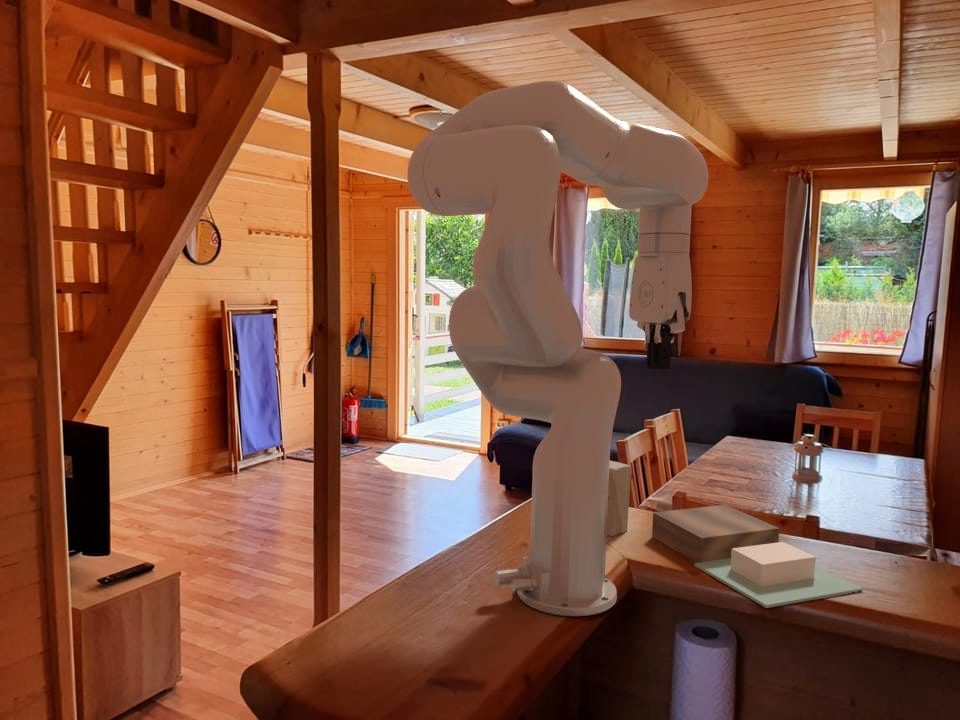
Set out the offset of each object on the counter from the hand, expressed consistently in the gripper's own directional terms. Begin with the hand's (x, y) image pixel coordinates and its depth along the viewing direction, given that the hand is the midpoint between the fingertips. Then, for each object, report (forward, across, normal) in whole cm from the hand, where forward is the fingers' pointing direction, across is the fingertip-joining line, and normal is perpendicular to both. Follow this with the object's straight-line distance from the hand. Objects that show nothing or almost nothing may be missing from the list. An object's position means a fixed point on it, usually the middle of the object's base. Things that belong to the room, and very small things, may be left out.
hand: (658, 368), depth 108 cm
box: (+27, -6, -4) cm, 28 cm away
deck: (+27, +5, +8) cm, 29 cm away
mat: (+27, +18, +8) cm, 34 cm away
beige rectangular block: (+25, +17, +8) cm, 32 cm away
